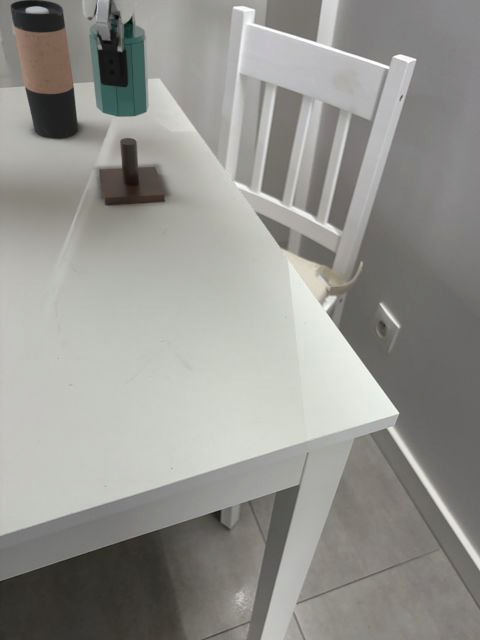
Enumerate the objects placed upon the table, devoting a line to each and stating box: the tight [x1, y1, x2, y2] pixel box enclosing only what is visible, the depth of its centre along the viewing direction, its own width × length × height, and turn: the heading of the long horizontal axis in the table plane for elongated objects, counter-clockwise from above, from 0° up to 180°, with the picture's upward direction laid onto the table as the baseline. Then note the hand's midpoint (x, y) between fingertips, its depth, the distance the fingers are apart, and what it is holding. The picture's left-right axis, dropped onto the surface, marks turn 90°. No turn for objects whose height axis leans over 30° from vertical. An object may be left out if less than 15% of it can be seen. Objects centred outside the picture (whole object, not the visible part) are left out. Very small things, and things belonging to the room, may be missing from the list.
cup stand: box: [98, 137, 166, 206], centre depth 84 cm, size 9×9×8 cm
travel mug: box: [9, 0, 79, 140], centre depth 90 cm, size 8×8×20 cm
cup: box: [89, 23, 150, 118], centre depth 68 cm, size 6×7×9 cm
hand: (120, 73), depth 69 cm, fingers closed on cup, 6 cm apart
